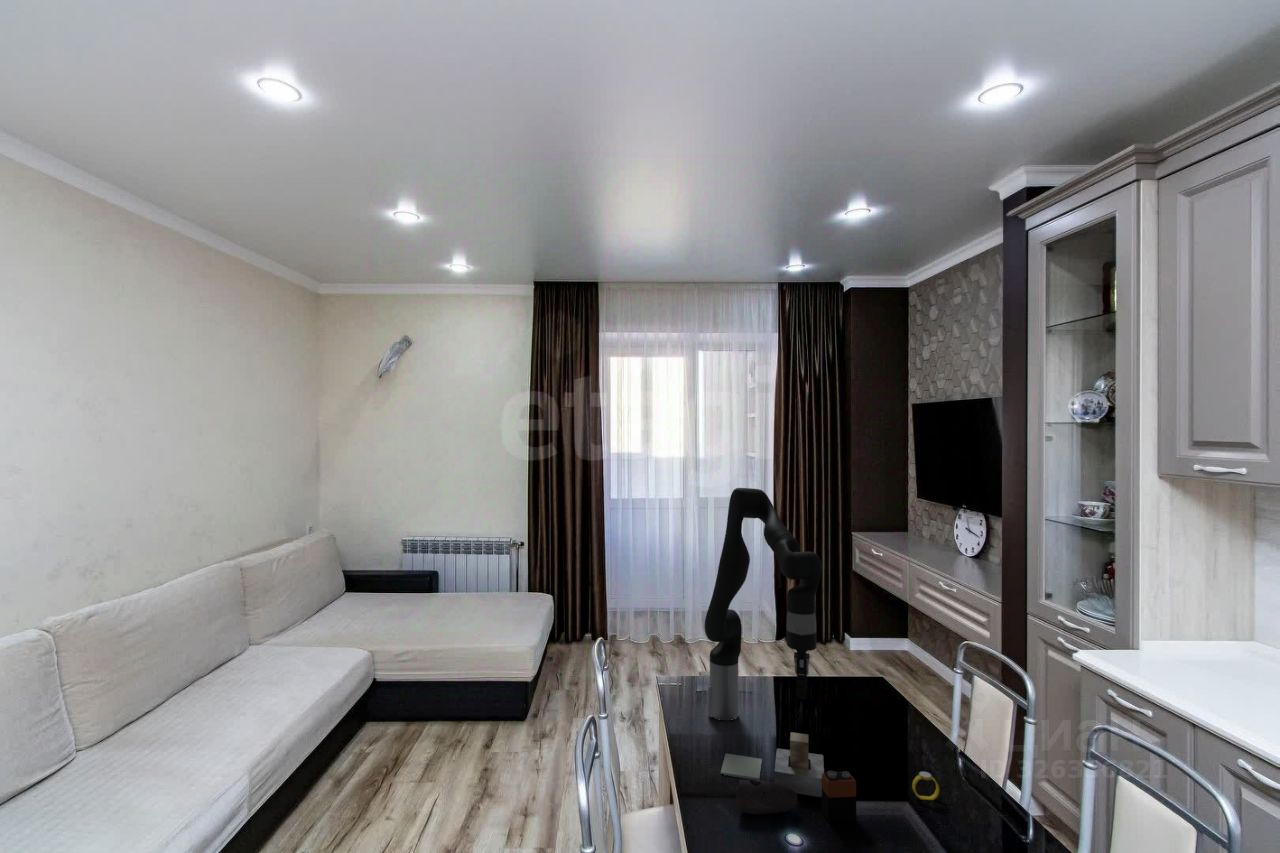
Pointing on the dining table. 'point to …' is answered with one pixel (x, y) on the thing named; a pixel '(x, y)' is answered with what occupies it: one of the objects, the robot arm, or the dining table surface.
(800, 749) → the birch peg
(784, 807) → the perforated stone tool
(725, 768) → the sage mat
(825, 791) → the battery
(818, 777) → the post block
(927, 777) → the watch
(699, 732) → the dining table surface
